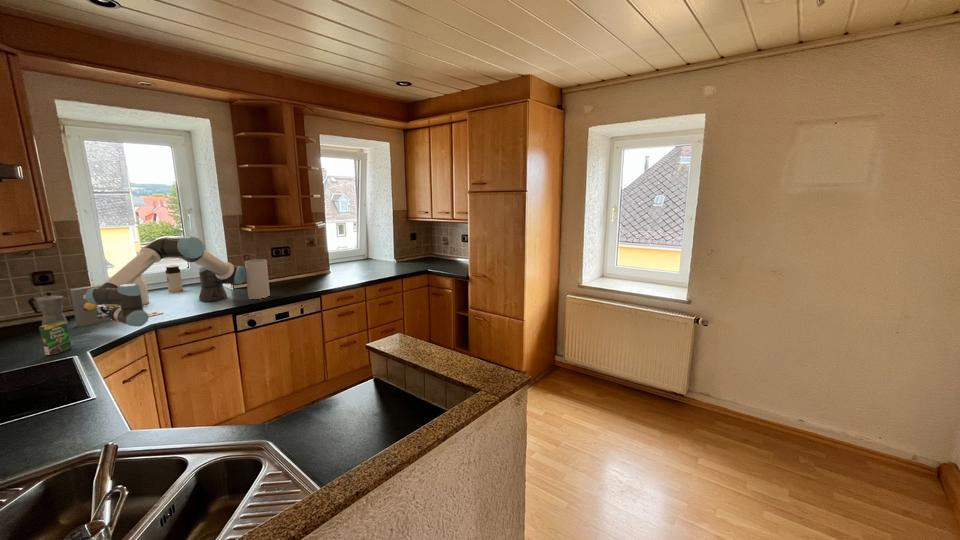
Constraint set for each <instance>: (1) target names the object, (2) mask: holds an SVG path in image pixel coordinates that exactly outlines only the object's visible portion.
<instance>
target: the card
mask: <svg viewBox="0 0 960 540" xmlns="http://www.w3.org/2000/svg"><path fill="white" fill-rule="evenodd" d="M146 313H147V314H148V316H151V317H154V316H153V315H155V316H159V315H158V314H160V315H163V314H164V312H161V311H152V312H149V313H148V312H146ZM162 313H163V314H162Z"/></svg>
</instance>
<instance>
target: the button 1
mask: <svg viewBox="0 0 960 540" xmlns="http://www.w3.org/2000/svg"><path fill="white" fill-rule="evenodd" d="M82 304H83V309H87V310H93V309H95V308H96V304H92V303H89V302H83V303H82Z"/></svg>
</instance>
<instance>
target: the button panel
mask: <svg viewBox="0 0 960 540" xmlns="http://www.w3.org/2000/svg"><path fill="white" fill-rule="evenodd" d="M103 284H104V283H102V284H96V285H91V286H89V285H88V286H83V287H78V288H77V287H76V288H70V289H69V292H70V296H71V303H72V307H73V315H74V318H75V323H76V326H77V327H80V328H81V326H82V327H86V326H90V325H89V324H91V325H95V324H99V322H100V323H103V322H102V321H104V322H107V321H106V320H109V321H112V320H111V318H110V317H106V316H104V317H102V318H98V315H97V311H96V309H97V305H103V304H96V308H95V309H93V310H87V309H85V308H83V304H82V303H83V302H88V301H87V300H86V298H85V295H86V292H87V291H88V290H89V289H91V288H96V287H97V288H99V287H100V286H102V285H103ZM131 284H133V283H131ZM103 306H106V305H103ZM118 306H120V305H118ZM106 307H108V306H106ZM94 323H95V324H94ZM85 325H86V326H85Z"/></svg>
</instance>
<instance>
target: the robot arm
mask: <svg viewBox="0 0 960 540" xmlns="http://www.w3.org/2000/svg"><path fill="white" fill-rule="evenodd" d="M167 258H168V259H169V258H173V259H174V258H176V259H177V258H178V259H181V260H183V261H185V262H188V263H195V264H196V265H198V267H199V268H198V271H199V272H198V274H199V281H200V282H199V283H200V293H199V296H198V300H199V302H201V301H202V303H207V302H208V303H210V301H213V302H219V301H218V300H220V301H223V300H222V299H224V300H226V299H228V294H227V291H226V290H225V288H224V285H226V284H227V285H241V284H243V282H244V281H245V279H246V269H245V267H243V266H241V265H234V264H232V263H231V262H229V261H225V262H224V261H223V260H221V259H220V258H219V257H216V256H214V255H213V254H212V253H210V252H208V251H207V250H205V245H204V244H203V241H202V240H201V239H200V238H198V237H195V236H189V235H187V236H175V235H173V236H170V235H169V236H168V235H166V236H161V237H158V238H156V239H154V240H152V241H151V242H148V243H147V244H146V245H145V246H144V247H141V249H140V250H139V253H138V254H137V255H136V256H134V257H133V258H132V259H131V260H130V261H129V262H127V264H126V265H124V266H123V267H122V268H120V270H118V271H117V272H116V273H115V274H114V275H112V276H111V277H110V278H108V279H107V280H106V281H105V282H103V283H102V284H103V285H102V284H101V285H102V286H100V287H99V288H97V287H96V288H91V289H89V290H88V291H87V292H86V295H85V298H86V300H87V301H88V302H89V303H92V304H102V305H97V309H96V311H97V315H98V318H102V317H104V316H106V317H110V318H111V319H112V320H111V321H115V322H118V323H122V324H125V325H128V326H131V327H141V326H144V325H145V324H146V323H148V321H149V316H148V314H147V313H148V312H146V311H145V310H144V307H143V305H142V298H141V291H140V288H139V285H138V284H131V283H133V282H134V281H135V280H136V279H137V278H138V277H139V276H140V275H141V274H142V275H143V274H144V273H145V272H146V271H147V270H149V269H150V267H151V266H153V265H154V264H155V263H159V262H160V261H162V260H164V259H167ZM142 275H141V276H142ZM225 298H226V299H225ZM103 304H118V305H120V306H113V307H111V306H108V307H106V306H103Z"/></svg>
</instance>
